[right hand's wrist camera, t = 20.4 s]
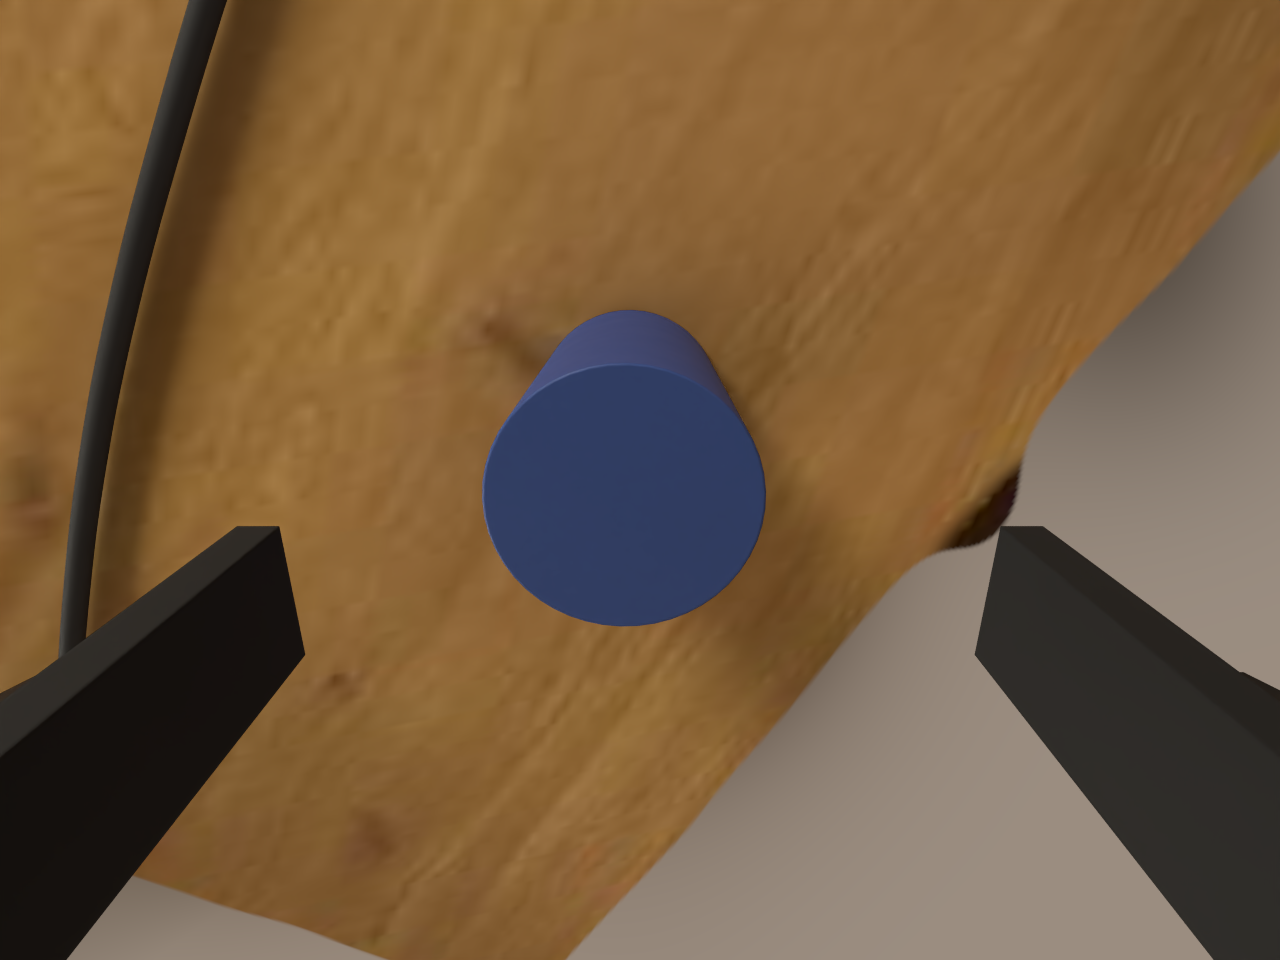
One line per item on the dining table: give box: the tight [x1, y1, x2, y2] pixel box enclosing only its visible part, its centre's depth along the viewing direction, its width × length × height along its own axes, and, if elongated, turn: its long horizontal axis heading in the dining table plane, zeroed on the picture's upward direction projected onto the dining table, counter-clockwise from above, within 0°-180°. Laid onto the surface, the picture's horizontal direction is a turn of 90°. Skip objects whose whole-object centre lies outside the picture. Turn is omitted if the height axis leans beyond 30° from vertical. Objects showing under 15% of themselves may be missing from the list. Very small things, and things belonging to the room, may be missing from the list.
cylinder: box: [482, 310, 766, 626], centre depth 24 cm, size 8×8×12 cm
